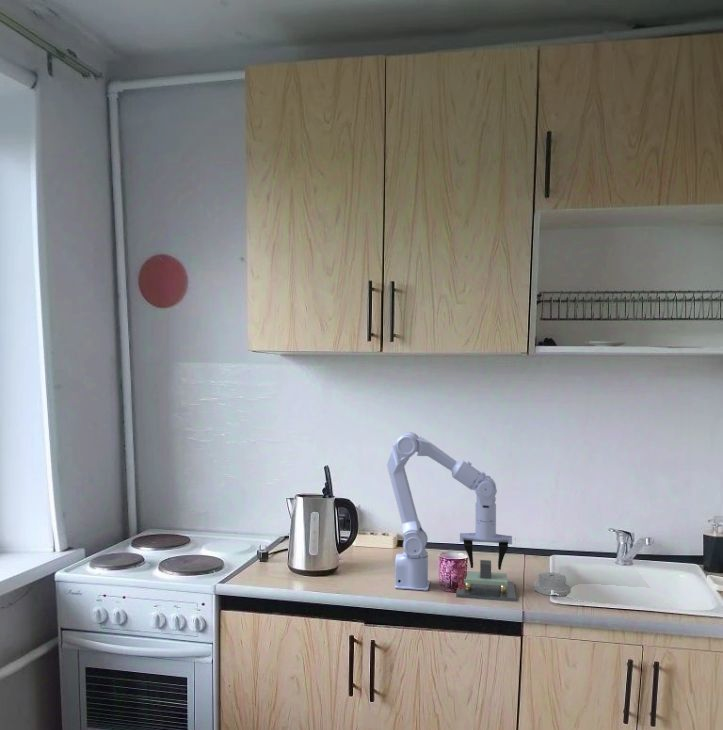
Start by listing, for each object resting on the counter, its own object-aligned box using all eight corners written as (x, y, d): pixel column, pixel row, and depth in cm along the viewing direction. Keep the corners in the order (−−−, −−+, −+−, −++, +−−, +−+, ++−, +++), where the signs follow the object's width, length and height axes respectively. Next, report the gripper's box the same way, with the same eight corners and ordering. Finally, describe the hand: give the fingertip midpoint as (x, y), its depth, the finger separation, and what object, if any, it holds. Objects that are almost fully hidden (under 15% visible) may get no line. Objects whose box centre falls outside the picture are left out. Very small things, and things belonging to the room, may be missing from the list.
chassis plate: (456, 597, 169) (456, 586, 169) (458, 580, 183) (458, 571, 183) (516, 601, 166) (516, 590, 166) (513, 584, 180) (513, 574, 180)
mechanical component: (575, 590, 176) (542, 582, 182) (575, 574, 176) (542, 567, 182) (562, 599, 168) (528, 591, 175) (562, 583, 168) (528, 576, 175)
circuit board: (463, 583, 173) (464, 565, 173) (464, 574, 180) (464, 556, 181) (507, 586, 170) (507, 567, 170) (506, 576, 178) (506, 559, 178)
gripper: (511, 517, 178) (511, 565, 177) (460, 515, 180) (460, 562, 180) (512, 523, 171) (512, 572, 170) (459, 520, 173) (459, 569, 173)
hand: (485, 567), depth 175 cm, fingers open, 7 cm apart
